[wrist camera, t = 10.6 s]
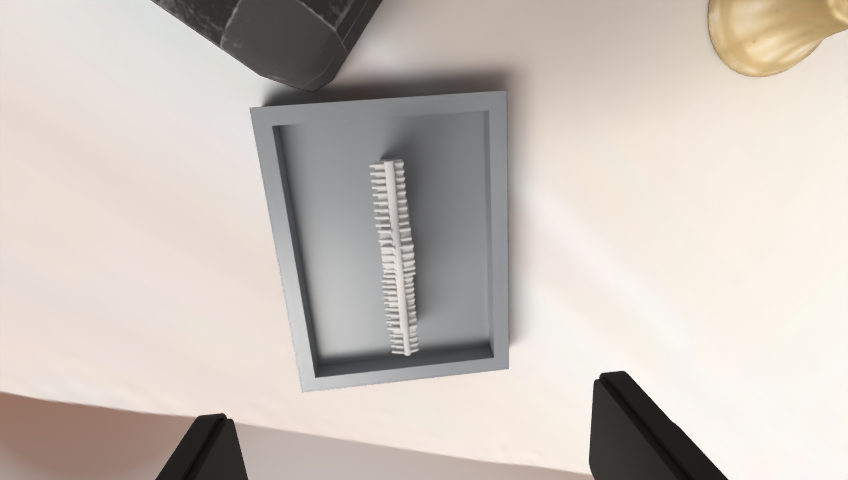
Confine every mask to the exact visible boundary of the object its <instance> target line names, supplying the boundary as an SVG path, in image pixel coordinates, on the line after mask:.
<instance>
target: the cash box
mask: <svg viewBox="0 0 848 480" xmlns="http://www.w3.org/2000/svg"><path fill="white" fill-rule="evenodd" d="M151 1H153V2H154V3H156V4H157V5H159V6H160V7H162V8H163V9H164V10H166V11H167V12H169V13H170V14H172V15H173V16H175V17H176V18H177V19H179V20H180V21H182V22H183V23H185V24H186V25H187V26H189V27H190V28H192V29H193V30H195V31H196V32H198V33H199V34H200V35H202V36H203V37H205V38H206V39H208V40H209V41H211V42H212V43H213V44H215V45H216V46H218V47H219V48H221V49H222V50H224V51H225V52H227V53H228V54H230V55H231V56H233V57H234V58H235V59H237V60H238V61H240V62H241V63H243V64H244V65H245V66H247V67H248V68H250V69H251V70H253V71H254V72H256V73H257V74H258V75H260V76H263V77H266V78H269V79H271V80H274V81H277V82H280V83H283V84H286V85H289V86H291V87H295V88H299V89H304V90H308V91H312V92H315V91H317V90H318V89H320V88H321V87H323V86H324V85H326V84H327V83H329V82H330V81H332V80H333V79H334V77H335V75H336V74H337V72H338V71H339V69H340V67H341V66H342V64H343V62H344V61H345V59H346V58H347V56H348V54H349V53H350V51H351V50H352V48H353V46H354V45H355V43H356V42H357V40H358V38H359V37H360V35H361V33H362V32H363V30H364V29H365V27H366V25H367V24H368V22H369V20H370V19H371V17H372V16H373V14H374V12H375V11H376V9H377V7H378V6H379V4H380V3H381V1H382V0H151Z"/></svg>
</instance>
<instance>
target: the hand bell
mask: <svg viewBox="0 0 848 480" xmlns="http://www.w3.org/2000/svg"><path fill="white" fill-rule="evenodd" d="M708 21H709V32H710V36H711V40H712V43H713V46H714V48H715V50H716V52H717V53H718V55H719V57H720V58H721V60H722V61H723V62H724V63H725V64H726V65H728V66H729V67H730V68H731V69H733V70H734V71H736V72H738V73H740V74H743V75H746V76H752V77H767V76H771V75H775V74H778V73H781V72H783V71H786V70H788V69H789V68H791V67H793V66H795V65H796V64H798V63H799V62H801V61H802V60H803V59H805V58H806V57H807V56H808V55H809V54H811V53H812V52H813V51H814V50H815V49H816V48H817V47H818V45H819V44H820V43H821V42H822V40H823V39H825V38H826V37H829V36H831V35H833V34H836V33H838V32H841V31H844V30H847V29H848V0H710V5H709V11H708Z"/></svg>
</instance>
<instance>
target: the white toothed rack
mask: <svg viewBox="0 0 848 480" xmlns="http://www.w3.org/2000/svg"><path fill="white" fill-rule="evenodd" d="M374 163H375V164H369V167H375V172H370V175H376V179H371V182H377V186H372V189H377V191H378V193H373V196H378V200H377V201H374V202H373V203H374V204H377V206H378V208H375V209H374V211H375V212H378V216H375V219H378V222H379V223H376V227H379V229H378V233H379V234H380V239H379V240H378V241H379V242H380V244H381V247H380V249H381V254H382V255H381V257H382V265H383V271H384V274H383V277H386V279H382V282H387V284H383V285H382V287H383V288H388V290H387V289H383V293H388V295H384V298H389V301H384V303H385V304H389V306H390V307H385V310H390V312H388V313H386V316H391V317H389V318H388V320H386V323H389V326H387V330H393V333H390V336H394V339H393V338H391V341H394V344H392V345H391V347H396V350H392V353H399V354H405V355H406V356H409V355H411V353H412V352H416V351H418V350H419V348H418V347H417V345H418V341H417V339H418V337H417V329H416V328H417V323H416V320H417V318H416V315H415V313H416V310H415V304H414V301H415V298H414V295H415V294H414V292H413V290H414V287H413V285H414V282H412V279H413V276H412V275H414V274H415V271H414V269H415V266H414V263H415V259H414V252H413V247H414V244H412V236H411V226H410V216H409V208H408V201H407V197H405V194H406V190H404V187H405V183H404V180H405V177H404V176H403V173H404V169H403V165H404V162H403V161H402V159H398V158H391V159H380V160H379V161H374ZM391 326H392V327H391Z"/></svg>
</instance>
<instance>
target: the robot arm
mask: <svg viewBox="0 0 848 480" xmlns="http://www.w3.org/2000/svg"><path fill="white" fill-rule="evenodd" d="M589 465H590V469H591V472H592V475H593V477H594V479H595V480H728V479H727V478H726V477H725V476H724V475H723V473H722V472H721V471H720V470H719V469H718V468H717V467H716V466H715V465H714V464H713V463H712V462H711V461H710V459H709V458H708V457H707V456H706V455H705V454H704V453H703V452H702V451H701V450H700V449H699V448H698V447H697V446H696V444H695V443H694V442H693V441H692V440H691V439H690V438H689V437H688V436H687V435H686V434H685V433H684V432H683V431H682V429H681V428H680V427H678V426H677V425H676V424H675V423H673V422H672V421H671V420H670V419H669V418H668V417H667V416H666V414H665V413H664V412H663V411H662V410H661V409H660V408H659V407H658V406H657V405H656V404H655V403H654V402H653V400H652V399H651V398H650V397H649V396H648V395H647V394H646V393H645V392H644V391H643V390H642V389H641V387H640V386H639V385H638V384H637V383H636V382H635V381H634V380H633V379H632V378H631V377H630V376H629V375H628V374H627V373H626V372H625V371H617V372H607V373H602V374H601V375H600V377H599V379H596V380H595V381H594V387H593V403H592V419H591V435H590V452H589ZM156 480H248V477H247V473H246V469H245V465H244V461H243V457H242V453H241V449H240V445H239V441H238V437H237V433H236V429H235V425H234V421H233V420H232V419H227V417H226V415H225V414H223V413H220V414H211V415H201V416H199V417H197V418H196V419H195V421H194V423H193V424H192V425H191V427H190V428H189V430H188V431H187V433H186V434H185V436H184V437H183V439H182V440H181V442H180V443H179V445H178V446H177V448H176V450H175V451H174V453H173V454H172V455H171V457H170V458H169V460H168V462H167V463H166V465H165V466H164V468H163V469H162V471H161V472H160V474H159V475H158V477H157V478H156Z"/></svg>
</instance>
